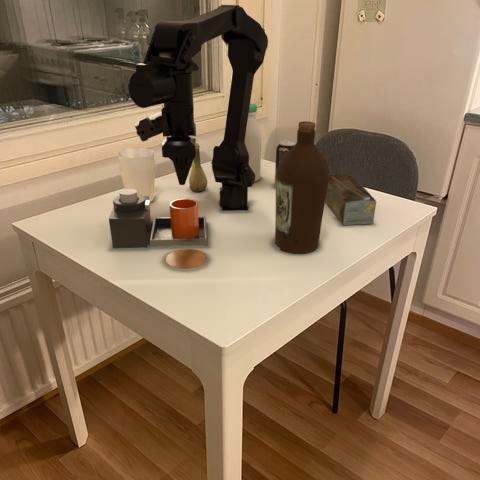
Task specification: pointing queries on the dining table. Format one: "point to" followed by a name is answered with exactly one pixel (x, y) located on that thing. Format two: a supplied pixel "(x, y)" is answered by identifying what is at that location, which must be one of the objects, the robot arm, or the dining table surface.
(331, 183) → the beverage carton
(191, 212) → the orange cup
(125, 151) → the cup
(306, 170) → the olive oil
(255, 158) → the milk bottle
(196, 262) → the cork coaster
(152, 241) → the drip tray
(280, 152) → the beverage can
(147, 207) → the grey small block
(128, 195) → the button
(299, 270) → the dining table surface
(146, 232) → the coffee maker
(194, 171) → the green gourd vase
